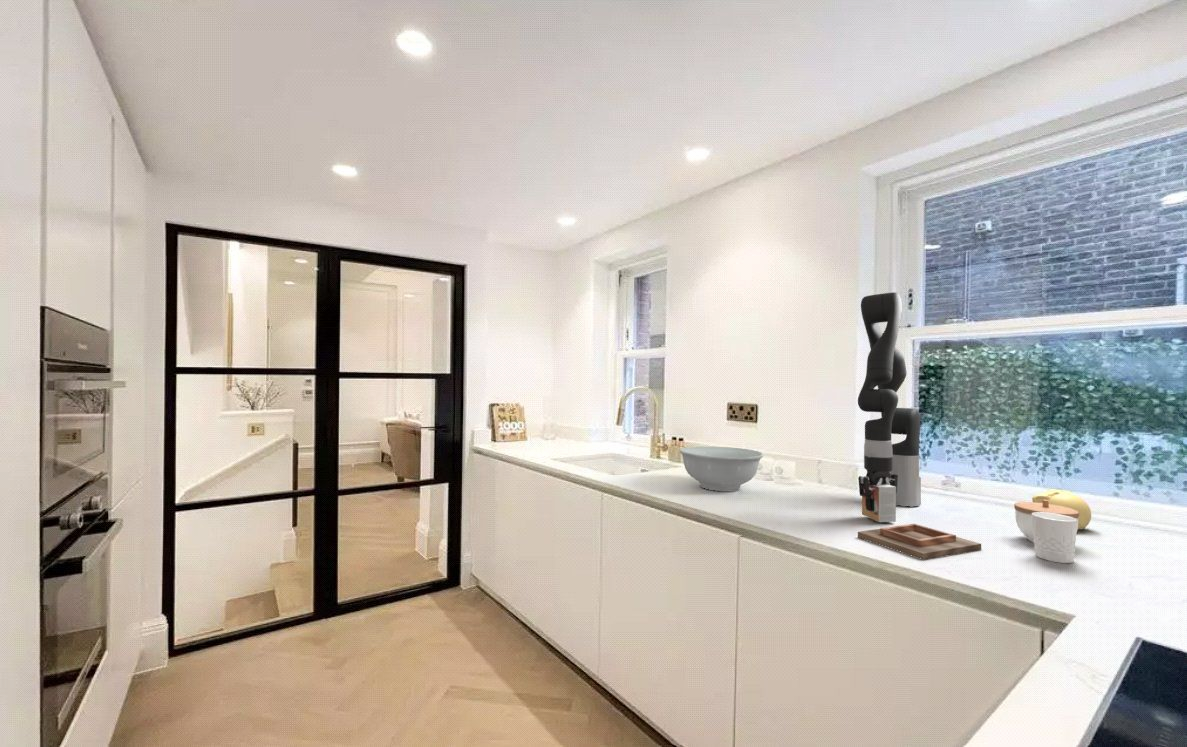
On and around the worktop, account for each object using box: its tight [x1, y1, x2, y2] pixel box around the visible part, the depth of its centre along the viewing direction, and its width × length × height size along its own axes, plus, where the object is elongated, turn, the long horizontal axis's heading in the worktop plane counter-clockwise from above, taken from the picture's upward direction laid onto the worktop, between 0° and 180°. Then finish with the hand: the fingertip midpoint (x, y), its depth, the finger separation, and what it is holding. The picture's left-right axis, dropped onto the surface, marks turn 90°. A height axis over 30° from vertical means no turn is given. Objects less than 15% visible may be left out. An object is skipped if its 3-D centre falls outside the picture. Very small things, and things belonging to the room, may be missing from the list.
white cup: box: [1032, 512, 1077, 564], centre depth 118 cm, size 8×8×10 cm
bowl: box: [679, 446, 764, 492], centre depth 195 cm, size 32×32×15 cm
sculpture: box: [1031, 488, 1092, 530], centre depth 144 cm, size 12×12×11 cm
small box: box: [861, 484, 897, 523], centre depth 149 cm, size 8×6×10 cm
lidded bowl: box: [1013, 500, 1079, 543], centre depth 130 cm, size 13×13×11 cm
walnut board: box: [857, 523, 982, 560], centre depth 128 cm, size 21×18×3 cm
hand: (878, 509), depth 149 cm, fingers closed on small box, 6 cm apart
